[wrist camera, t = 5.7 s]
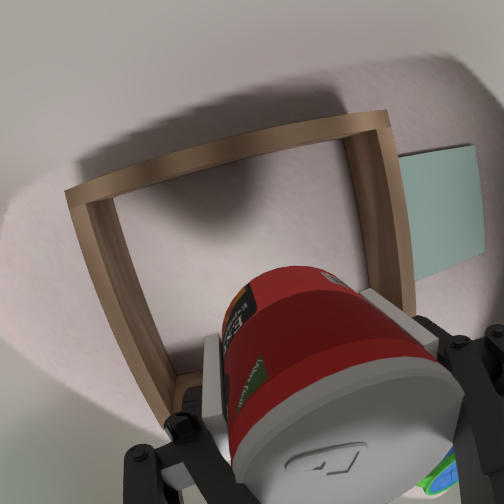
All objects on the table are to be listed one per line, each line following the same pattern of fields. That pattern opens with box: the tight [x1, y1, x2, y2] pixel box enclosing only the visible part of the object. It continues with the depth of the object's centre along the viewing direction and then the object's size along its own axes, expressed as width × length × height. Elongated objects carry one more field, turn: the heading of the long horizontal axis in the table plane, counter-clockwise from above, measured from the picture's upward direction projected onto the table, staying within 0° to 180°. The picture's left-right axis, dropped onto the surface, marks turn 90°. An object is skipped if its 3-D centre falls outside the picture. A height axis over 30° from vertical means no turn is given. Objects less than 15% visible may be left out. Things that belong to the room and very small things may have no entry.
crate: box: [64, 110, 416, 430], centre depth 28 cm, size 26×23×7 cm
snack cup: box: [416, 446, 459, 495], centre depth 37 cm, size 16×11×10 cm
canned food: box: [222, 266, 465, 504], centre depth 13 cm, size 8×8×11 cm
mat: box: [398, 145, 485, 281], centre depth 32 cm, size 14×14×1 cm
